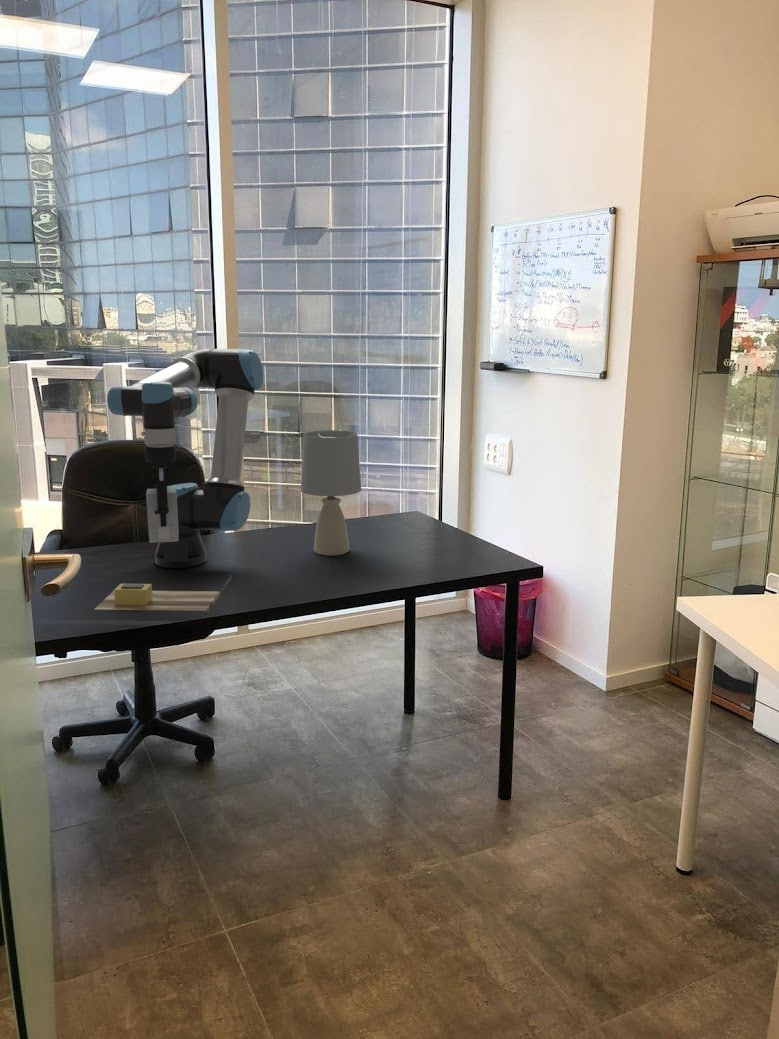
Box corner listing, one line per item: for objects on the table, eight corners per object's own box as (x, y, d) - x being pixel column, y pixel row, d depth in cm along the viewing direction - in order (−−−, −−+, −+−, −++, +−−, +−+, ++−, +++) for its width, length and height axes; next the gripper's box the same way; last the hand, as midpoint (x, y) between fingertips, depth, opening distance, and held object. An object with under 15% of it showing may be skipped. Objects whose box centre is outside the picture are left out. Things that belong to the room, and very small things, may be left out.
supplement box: (178, 535, 223) (176, 487, 220) (178, 542, 216) (176, 492, 213) (149, 536, 221) (146, 488, 219) (148, 543, 214) (145, 493, 212)
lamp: (372, 553, 268) (372, 435, 259) (320, 562, 258) (319, 440, 249) (341, 540, 283) (340, 428, 274) (291, 548, 273) (288, 432, 264)
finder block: (121, 598, 222) (120, 582, 221) (152, 598, 222) (151, 582, 221) (115, 604, 217) (114, 588, 216) (146, 605, 217) (145, 588, 216)
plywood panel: (114, 593, 228) (114, 590, 228) (219, 595, 228) (219, 591, 228) (94, 613, 214) (94, 609, 214) (206, 614, 213) (206, 610, 213)
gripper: (145, 440, 222) (149, 526, 227) (143, 450, 203) (148, 545, 208) (175, 439, 224) (178, 525, 229) (176, 450, 205) (180, 543, 210)
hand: (164, 534), depth 219 cm, fingers closed on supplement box, 7 cm apart
